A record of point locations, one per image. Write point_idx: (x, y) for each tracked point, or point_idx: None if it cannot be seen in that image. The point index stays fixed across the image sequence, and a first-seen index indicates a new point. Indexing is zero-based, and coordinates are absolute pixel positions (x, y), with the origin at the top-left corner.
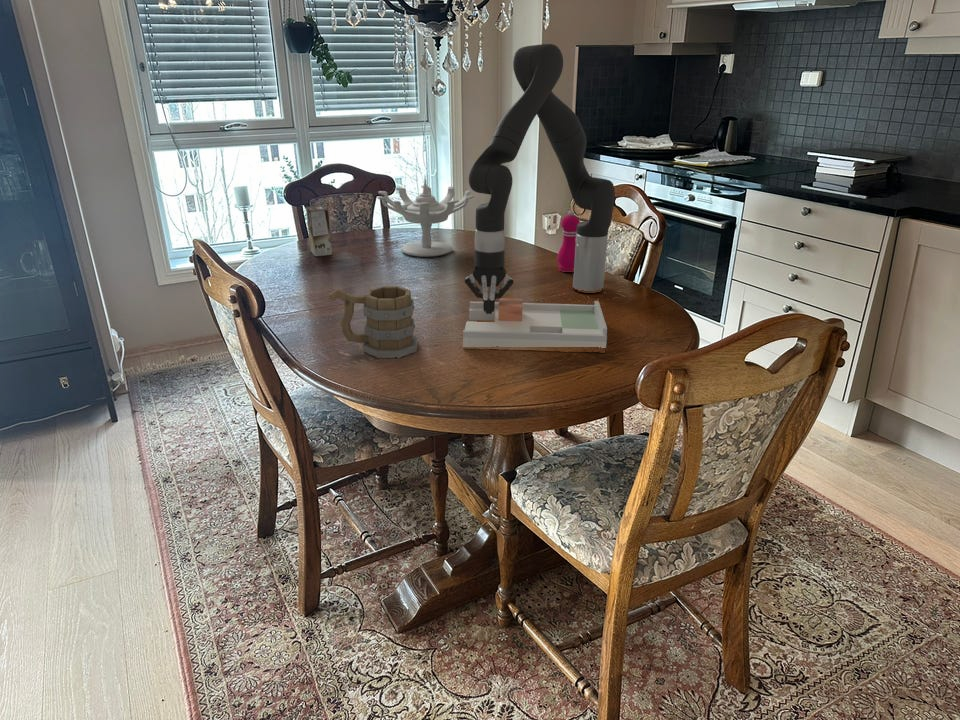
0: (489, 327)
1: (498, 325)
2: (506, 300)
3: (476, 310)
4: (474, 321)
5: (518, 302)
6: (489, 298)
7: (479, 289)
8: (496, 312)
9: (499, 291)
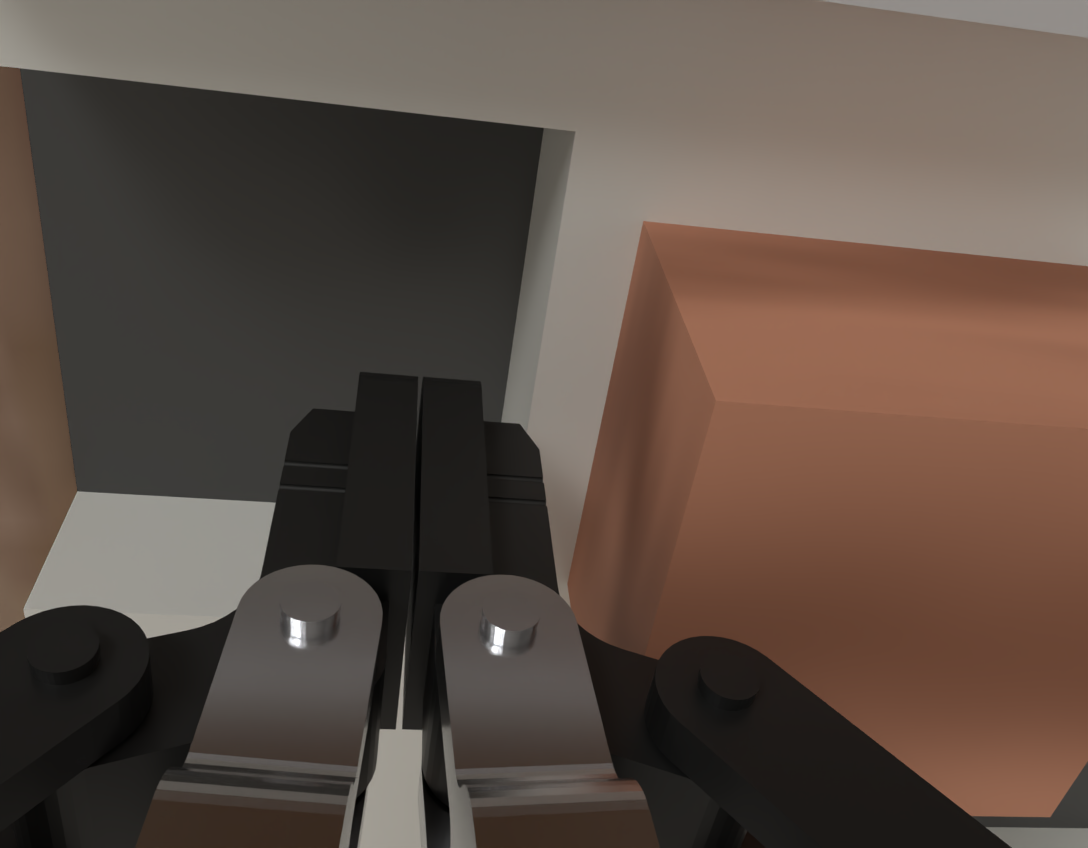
0: (413, 783)
1: None
2: (854, 549)
3: (112, 66)
4: (164, 619)
5: (1076, 653)
6: (417, 601)
7: (38, 768)
8: (586, 213)
9: (727, 781)
